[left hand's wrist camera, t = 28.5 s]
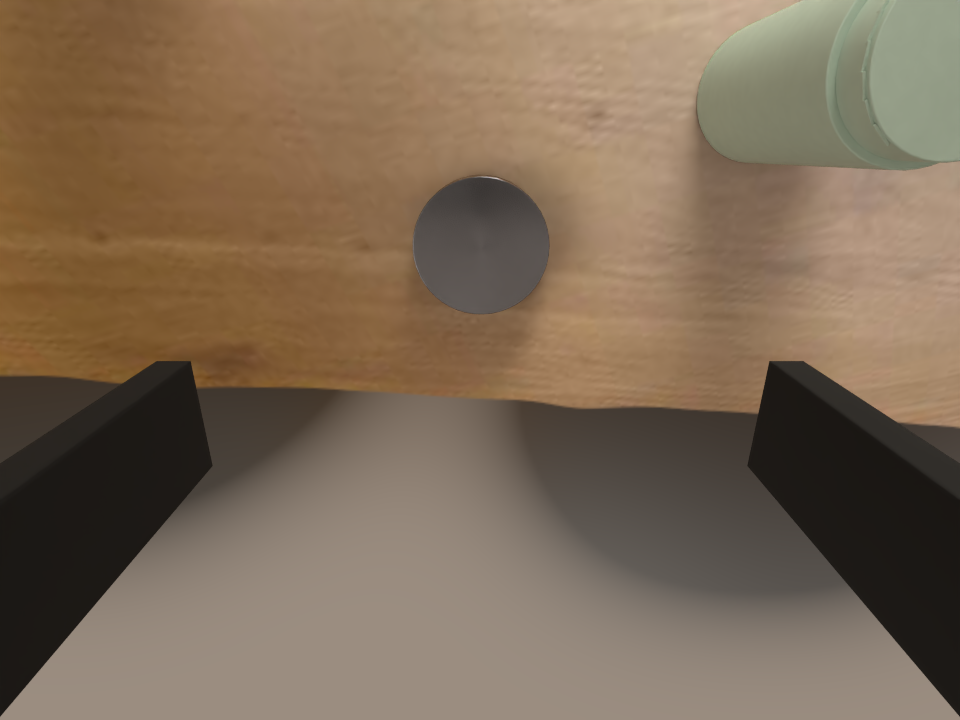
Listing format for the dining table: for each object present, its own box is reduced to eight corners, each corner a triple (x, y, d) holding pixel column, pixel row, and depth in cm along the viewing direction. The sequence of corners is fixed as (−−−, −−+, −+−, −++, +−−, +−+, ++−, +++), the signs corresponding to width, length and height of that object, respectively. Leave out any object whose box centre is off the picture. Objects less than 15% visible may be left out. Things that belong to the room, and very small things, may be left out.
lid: (494, 328, 39) (495, 338, 37) (391, 257, 38) (386, 264, 35) (571, 228, 37) (577, 232, 35) (465, 146, 35) (464, 145, 33)
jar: (776, -13, 32) (1031, -153, 17) (852, 91, 34) (1139, 46, 19) (670, 97, 34) (815, 58, 19) (747, 189, 36) (932, 217, 21)
